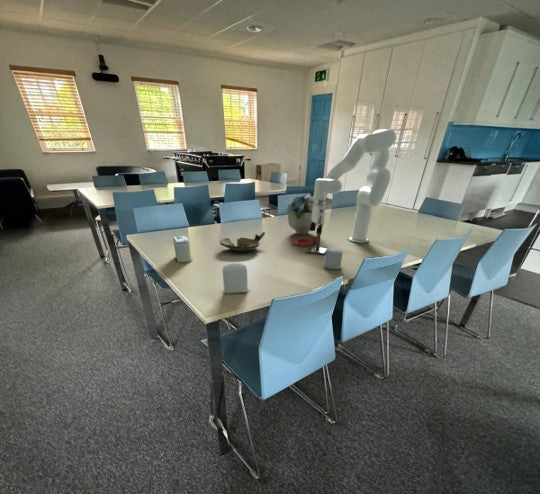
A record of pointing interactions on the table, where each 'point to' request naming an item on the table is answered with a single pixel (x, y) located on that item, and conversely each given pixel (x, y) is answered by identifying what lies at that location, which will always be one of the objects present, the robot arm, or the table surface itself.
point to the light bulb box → (182, 249)
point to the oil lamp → (243, 243)
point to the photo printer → (235, 278)
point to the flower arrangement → (300, 214)
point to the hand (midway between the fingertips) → (315, 232)
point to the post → (317, 247)
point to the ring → (308, 242)
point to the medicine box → (333, 259)
